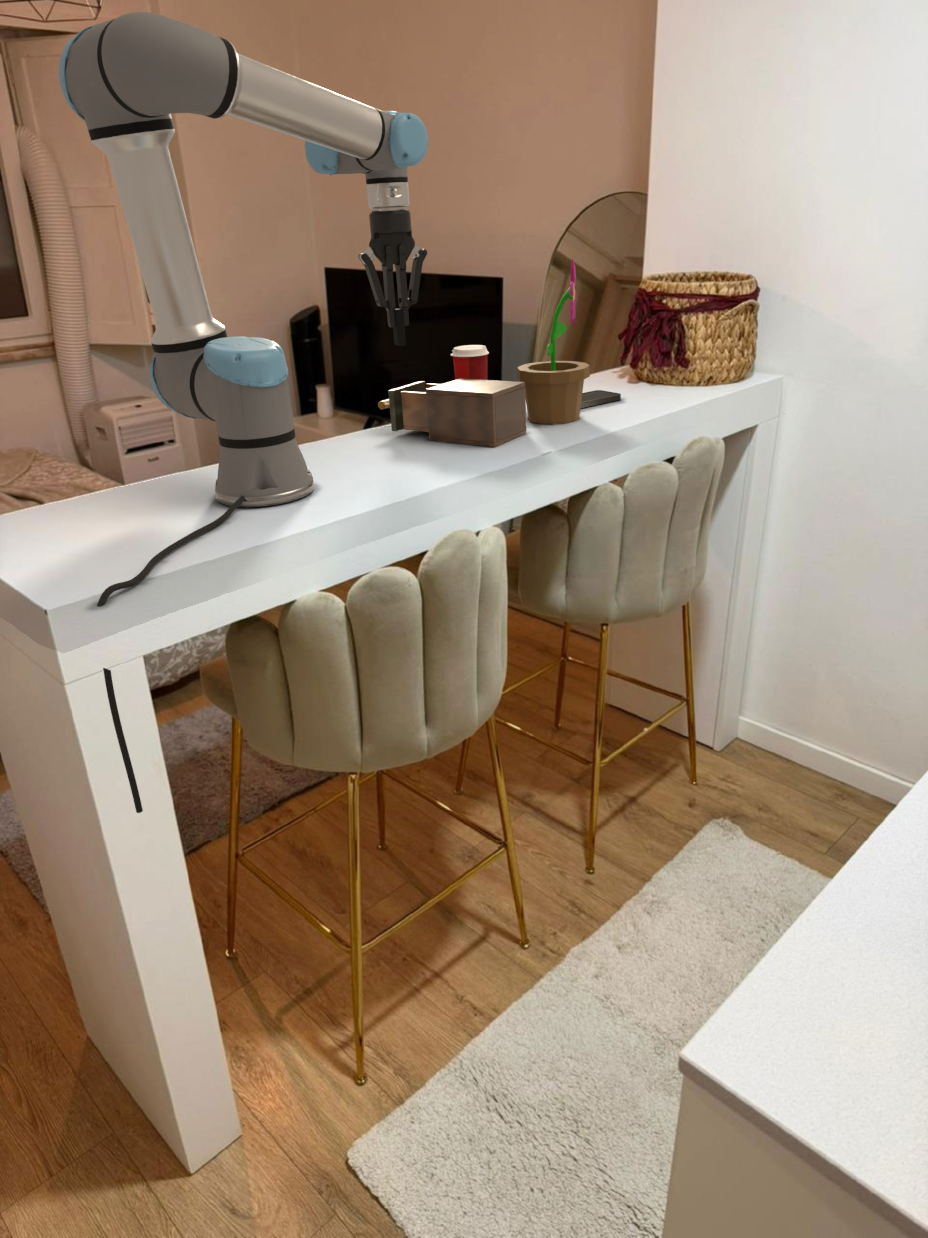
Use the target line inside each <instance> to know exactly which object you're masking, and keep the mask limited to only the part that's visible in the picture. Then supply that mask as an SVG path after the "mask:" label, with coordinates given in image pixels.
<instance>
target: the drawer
mask: <svg viewBox="0 0 928 1238" xmlns="http://www.w3.org/2000/svg"><path fill="white" fill-rule="evenodd" d="M440 384H441V383H431V382H430V383H426V381H425V380H419V381H415V382H412V383H409V384H405V385H402V386H399V387H395V388H391V389H389V390H387V392H388V398H386V399H383V400H379V401H378V403H377V406H378V409H380V410H385V409H389V414H390V427H391V431H392V432H399V431H401V430H405V431H415V432H425V433H429V430H428V416H427V402H426V389H427V388H431V387H434V386H437V385H440Z"/></svg>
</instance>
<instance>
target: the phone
mask: <svg viewBox="0 0 928 1238" xmlns="http://www.w3.org/2000/svg"><path fill="white" fill-rule="evenodd" d="M621 399H622V394H621V393H619V392H613V391H607V390H601V389H596V390H590V391H586V392H582V400H581V408H580V409H585V408H588V407H593V406H598V405H603V404H607V403H610V402H616V401H621Z"/></svg>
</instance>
